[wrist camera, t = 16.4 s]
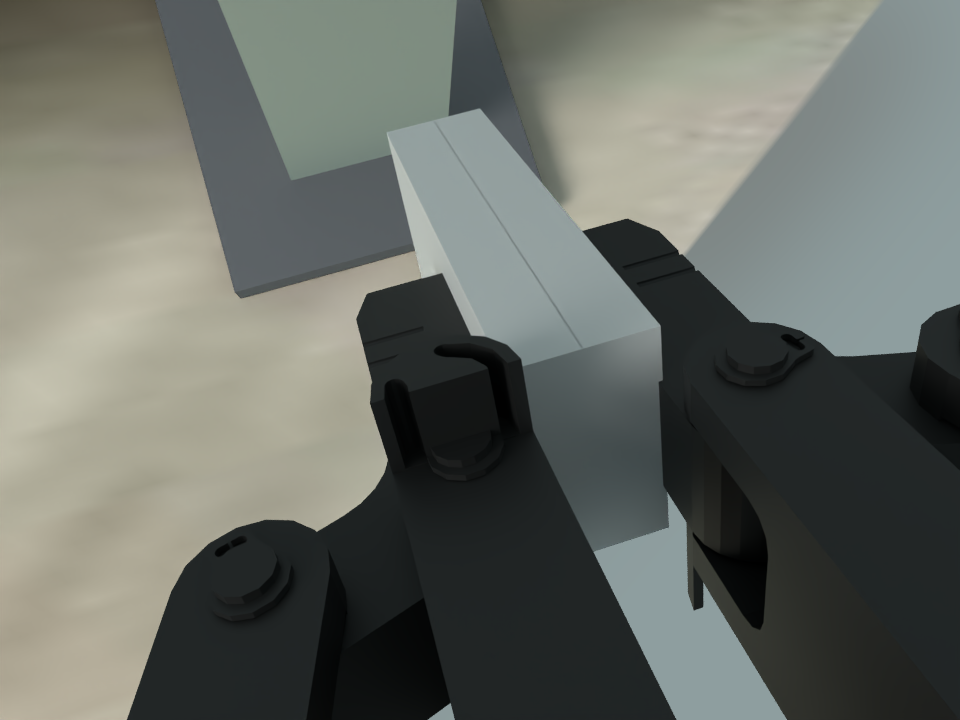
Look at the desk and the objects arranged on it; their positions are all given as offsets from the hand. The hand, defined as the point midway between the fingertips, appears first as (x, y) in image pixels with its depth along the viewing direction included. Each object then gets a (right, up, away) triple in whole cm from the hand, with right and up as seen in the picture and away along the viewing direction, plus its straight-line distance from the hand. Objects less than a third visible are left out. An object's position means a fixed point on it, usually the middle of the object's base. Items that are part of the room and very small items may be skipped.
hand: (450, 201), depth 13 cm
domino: (-3, +5, +12) cm, 14 cm away
